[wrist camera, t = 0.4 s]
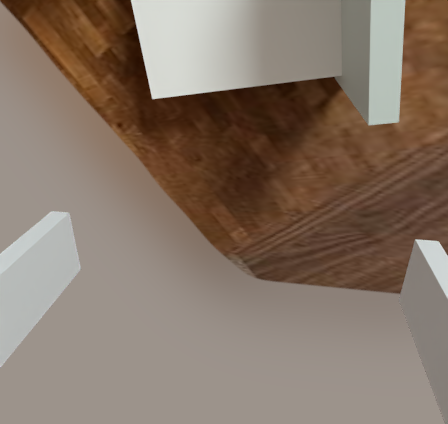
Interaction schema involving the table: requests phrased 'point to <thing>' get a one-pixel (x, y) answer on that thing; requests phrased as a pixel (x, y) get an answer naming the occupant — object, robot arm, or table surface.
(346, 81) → the white toy chair
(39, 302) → the robot arm
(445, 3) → the table surface
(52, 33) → the table surface
